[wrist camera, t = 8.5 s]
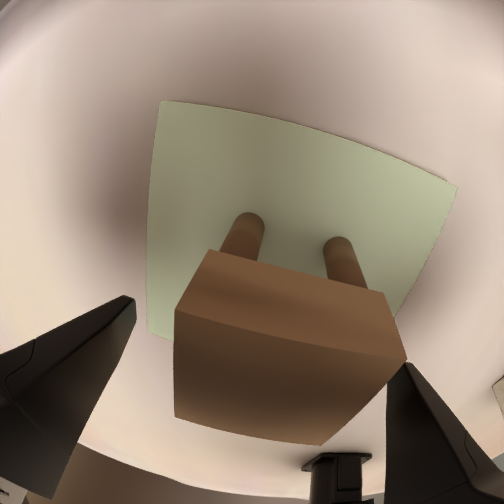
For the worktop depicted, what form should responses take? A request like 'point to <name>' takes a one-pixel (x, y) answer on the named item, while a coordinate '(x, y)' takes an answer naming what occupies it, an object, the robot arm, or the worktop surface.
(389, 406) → the robot arm
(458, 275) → the worktop surface
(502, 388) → the supplement box
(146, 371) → the worktop surface
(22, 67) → the worktop surface
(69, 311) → the worktop surface
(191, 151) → the sage mat
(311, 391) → the toy stool
